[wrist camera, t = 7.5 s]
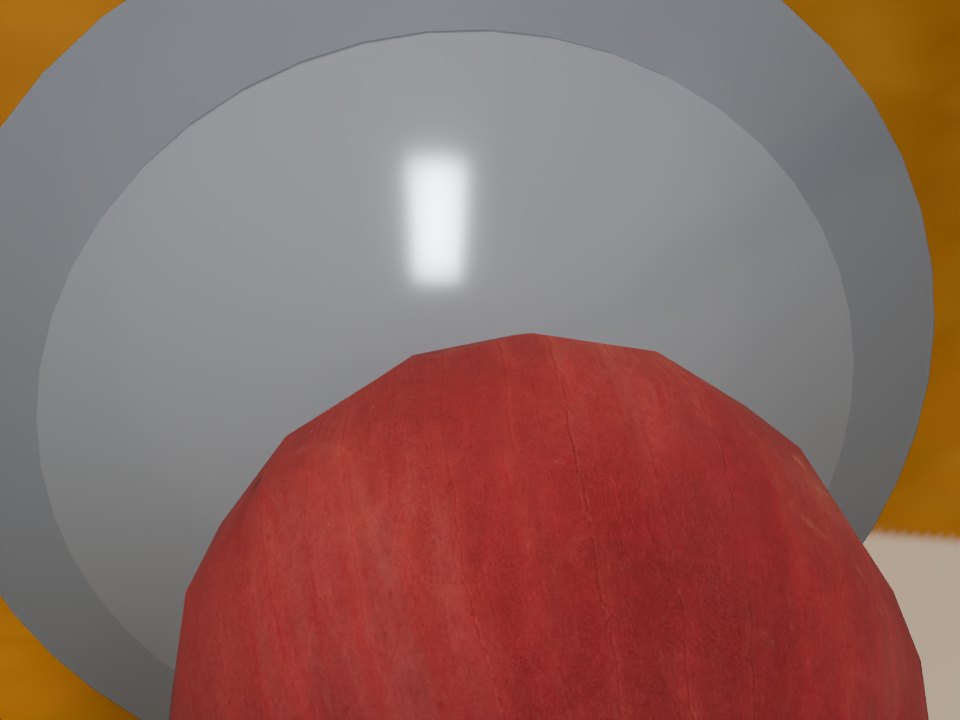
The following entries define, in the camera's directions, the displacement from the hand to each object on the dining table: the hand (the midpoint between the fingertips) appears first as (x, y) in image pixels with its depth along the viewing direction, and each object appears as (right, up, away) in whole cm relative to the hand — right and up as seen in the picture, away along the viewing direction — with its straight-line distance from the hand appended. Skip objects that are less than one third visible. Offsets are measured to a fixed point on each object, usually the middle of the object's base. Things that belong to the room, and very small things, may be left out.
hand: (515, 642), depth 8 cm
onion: (0, +2, +3) cm, 3 cm away
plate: (-1, +2, +4) cm, 5 cm away
